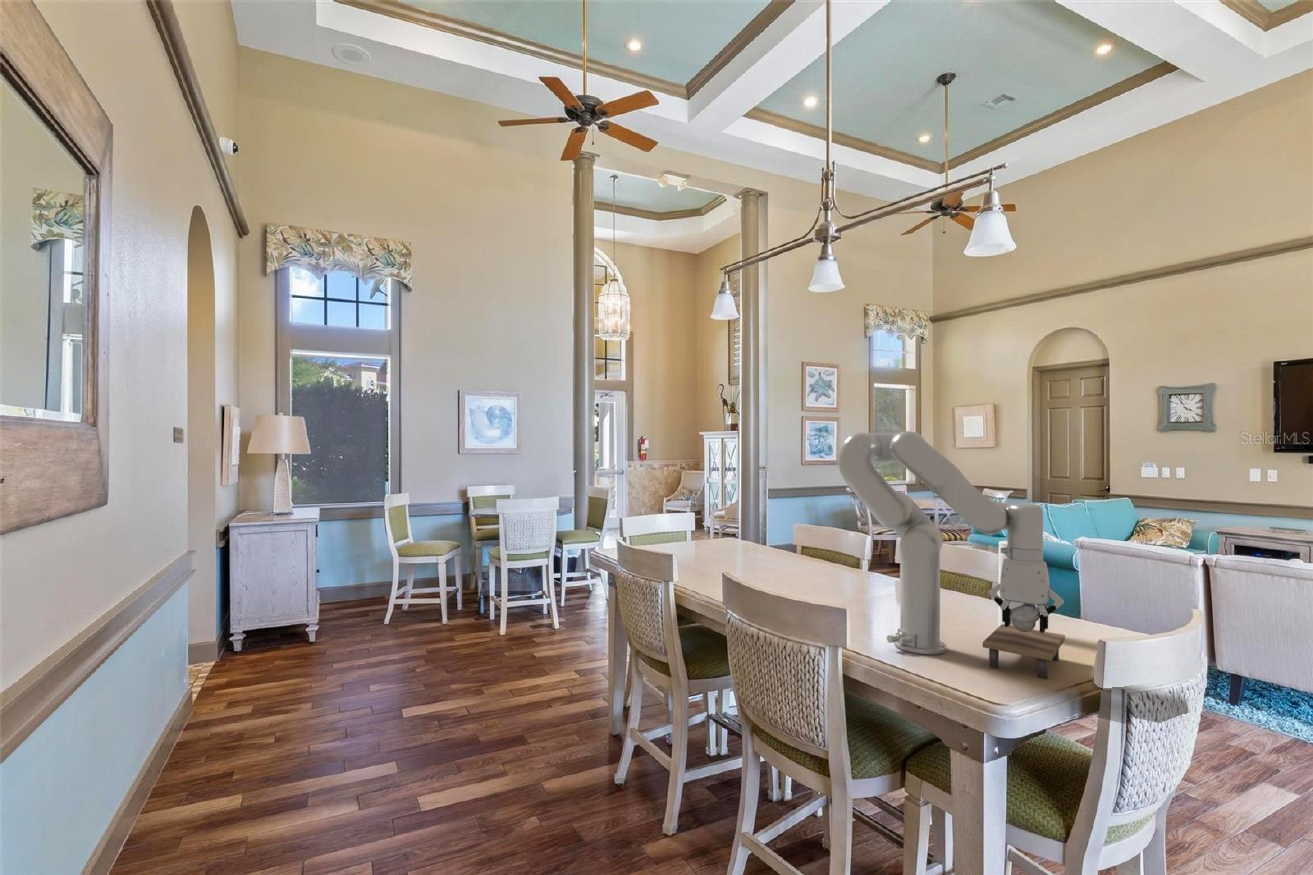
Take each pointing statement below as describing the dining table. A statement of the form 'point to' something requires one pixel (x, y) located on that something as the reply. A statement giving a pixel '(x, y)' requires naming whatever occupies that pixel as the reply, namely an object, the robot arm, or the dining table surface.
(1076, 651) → the dining table surface
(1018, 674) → the dining table surface
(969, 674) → the dining table surface
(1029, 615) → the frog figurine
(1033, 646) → the walnut shelf
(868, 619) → the dining table surface
